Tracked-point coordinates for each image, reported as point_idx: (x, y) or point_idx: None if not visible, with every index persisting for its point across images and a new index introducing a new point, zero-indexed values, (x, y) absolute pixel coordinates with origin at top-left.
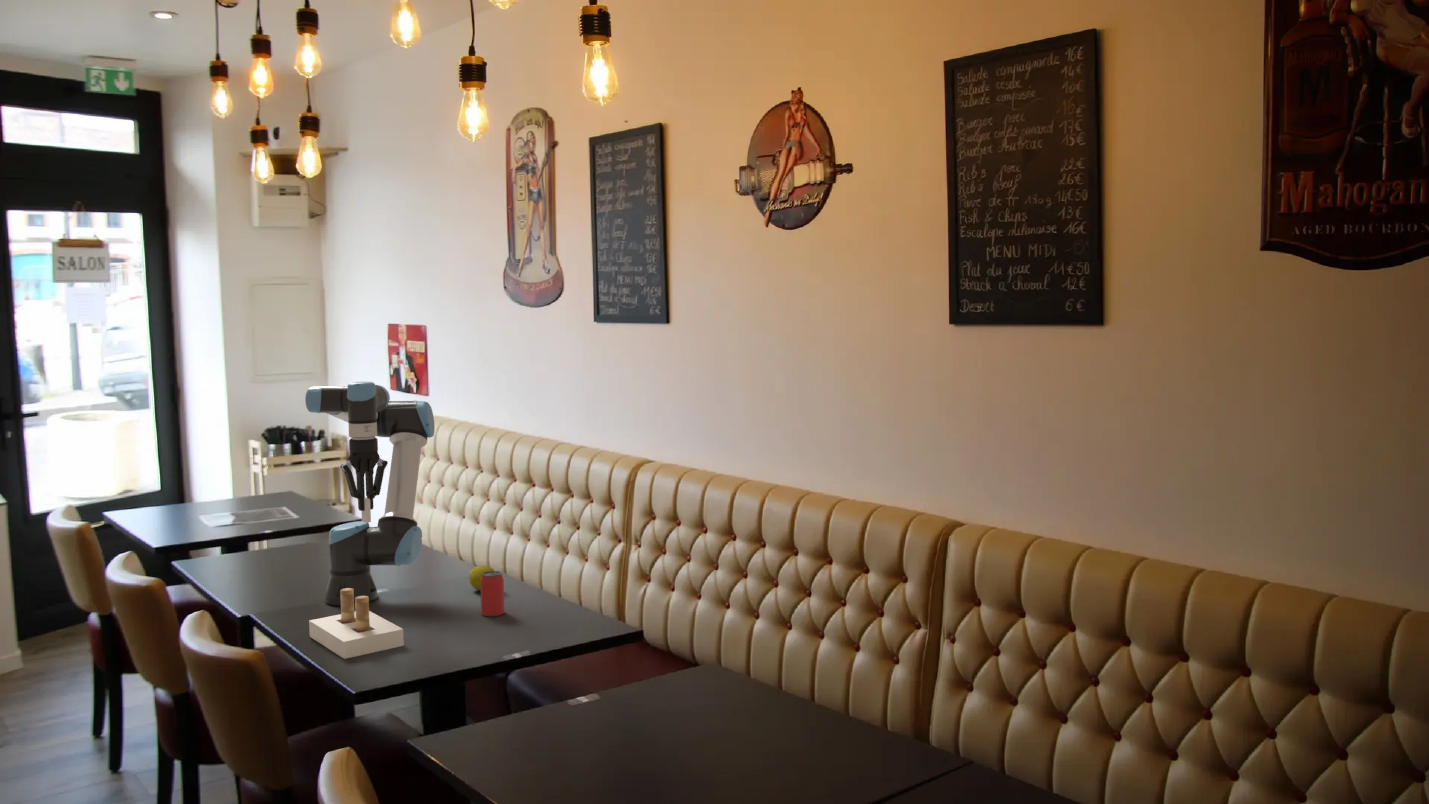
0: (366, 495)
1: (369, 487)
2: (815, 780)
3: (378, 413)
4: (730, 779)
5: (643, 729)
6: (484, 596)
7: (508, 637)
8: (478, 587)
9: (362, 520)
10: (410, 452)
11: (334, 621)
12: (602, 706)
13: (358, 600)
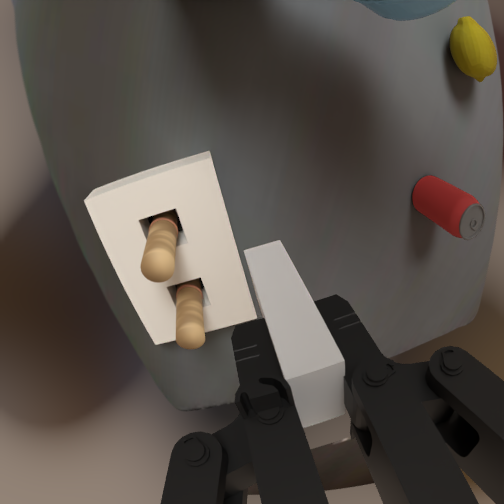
0: (353, 389)
1: (384, 501)
2: (363, 481)
3: None
4: (339, 485)
5: (344, 462)
6: (433, 217)
7: (388, 308)
8: (455, 61)
9: (247, 263)
10: None
11: (135, 228)
12: (347, 445)
13: (182, 345)
